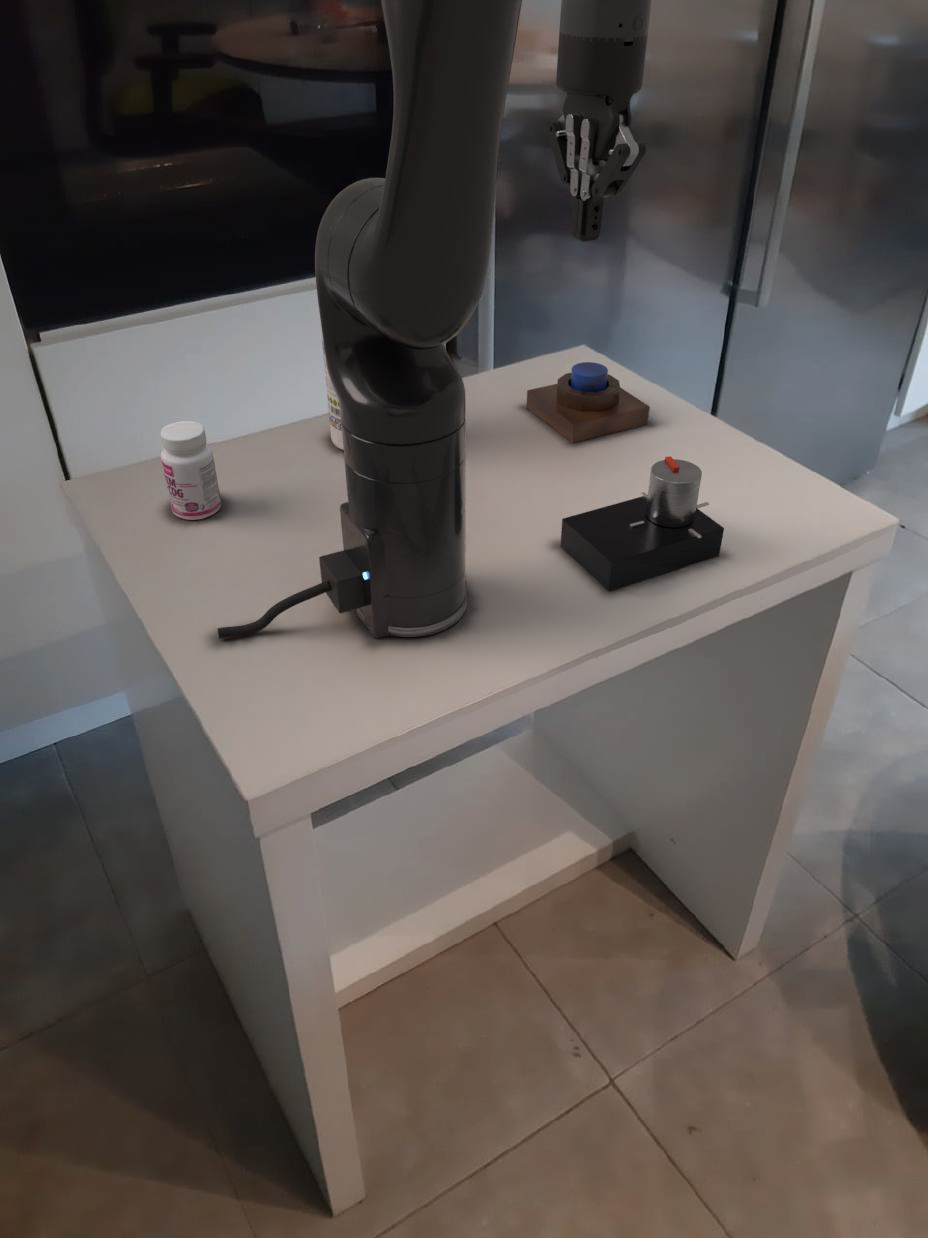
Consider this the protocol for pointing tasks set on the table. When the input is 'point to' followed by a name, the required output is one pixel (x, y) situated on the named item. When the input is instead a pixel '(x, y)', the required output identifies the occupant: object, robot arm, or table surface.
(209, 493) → the pill bottle
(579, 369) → the button
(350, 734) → the table surface
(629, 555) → the panel
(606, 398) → the button block
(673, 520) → the knob
